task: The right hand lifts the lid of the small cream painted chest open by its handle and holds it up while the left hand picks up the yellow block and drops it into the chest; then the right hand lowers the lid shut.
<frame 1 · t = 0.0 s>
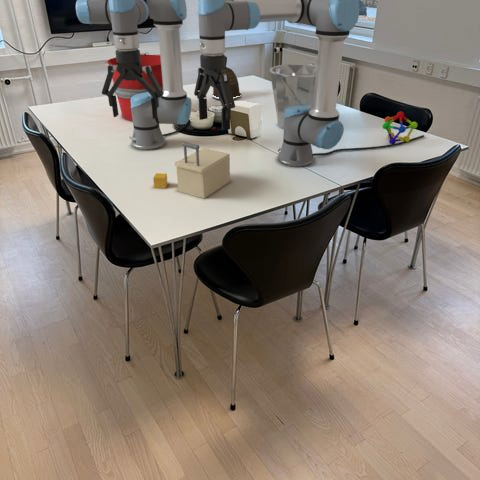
left hand: (135, 116, 150), 28 cm above the table, tool pointing down, fingers open, 13 cm apart
right hand: (214, 124, 143), 28 cm above the table, tool pointing down, fingers open, 13 cm apart
block: (161, 185, 169), on the table
bell: (226, 97, 281), on the table
chest: (204, 186, 169), on the table
lid: (202, 149, 161), point 15 cm above the table, hinge at -0.1°
bucket 2: (144, 115, 248), on the table
bucket: (295, 125, 233), on the table
educational toy: (395, 143, 211), on the table
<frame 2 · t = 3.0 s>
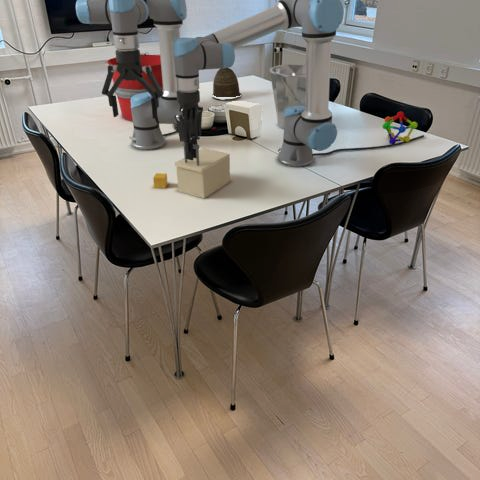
left hand: (135, 116, 150), 28 cm above the table, tool pointing down, fingers open, 13 cm apart
right hand: (191, 158, 156), 14 cm above the table, tool pointing down, fingers closed on lid, 2 cm apart
lid: (202, 149, 161), point 15 cm above the table, hinge at 0.1°, touching right hand
everything else where it was.
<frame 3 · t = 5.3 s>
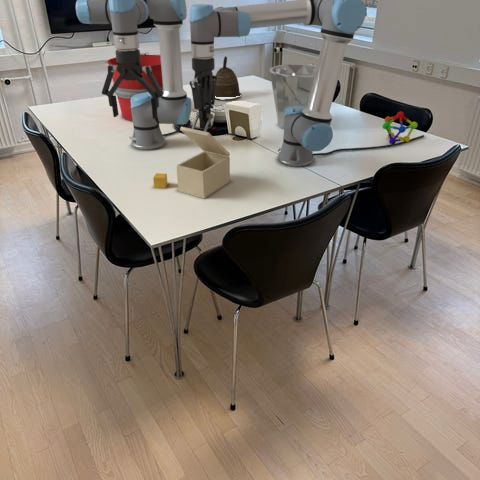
left hand: (135, 116, 150), 28 cm above the table, tool pointing down, fingers open, 13 cm apart
right hand: (205, 127, 158), 22 cm above the table, tool pointing down, fingers closed on lid, 2 cm apart
lid: (209, 132, 162), point 20 cm above the table, hinge at 41.6°, touching right hand
everything else where it was.
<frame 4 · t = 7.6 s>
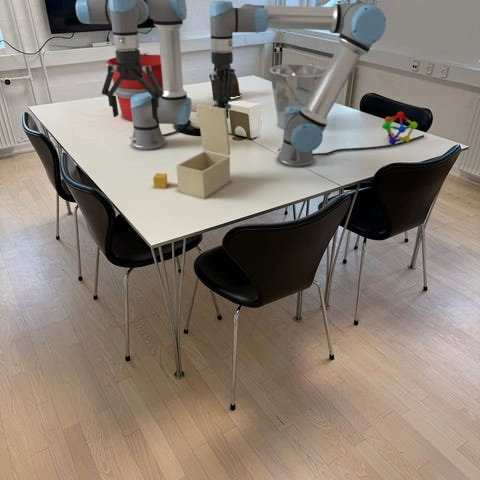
left hand: (135, 116, 150), 28 cm above the table, tool pointing down, fingers open, 13 cm apart
right hand: (223, 118, 166), 23 cm above the table, tool pointing down, fingers closed on lid, 2 cm apart
lid: (219, 126, 166), point 20 cm above the table, hinge at 80.6°, touching right hand
everything else where it was.
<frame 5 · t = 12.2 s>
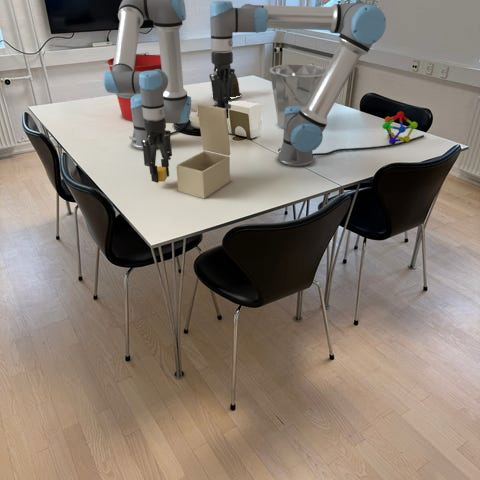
left hand: (160, 178, 168), 3 cm above the table, tool pointing down, fingers closed on block, 5 cm apart
right hand: (223, 118, 166), 23 cm above the table, tool pointing down, fingers closed on lid, 2 cm apart
block: (160, 179, 168), point 2 cm above the table, touching left hand
lid: (219, 126, 166), point 20 cm above the table, hinge at 81.0°, touching right hand
everything else where it was.
when the left hand's fingers open (17 cm above the table, at t = 15.3 s): block drops 16 cm, resting on chest.
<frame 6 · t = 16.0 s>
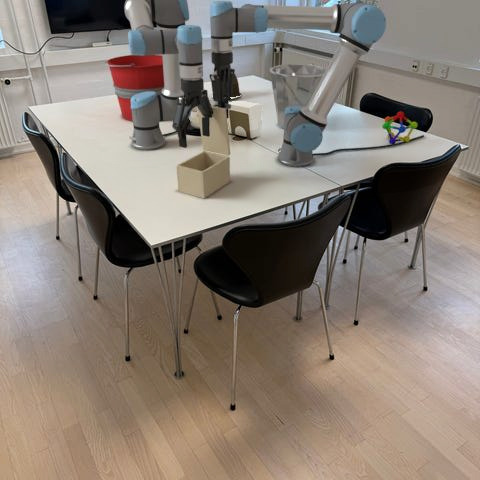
left hand: (194, 141, 155), 19 cm above the table, tool pointing down, fingers open, 13 cm apart
right hand: (223, 118, 166), 23 cm above the table, tool pointing down, fingers closed on lid, 2 cm apart
block: (197, 189, 165), point 1 cm above the table, touching chest
chest: (204, 186, 169), on the table, touching block
lid: (219, 126, 166), point 20 cm above the table, hinge at 81.2°, touching left hand, right hand
everything else where it was.
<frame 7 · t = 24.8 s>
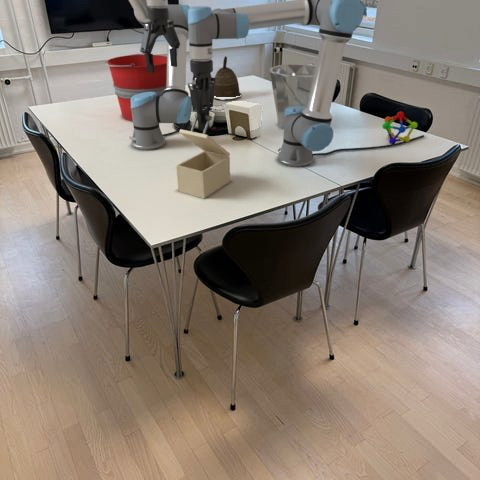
left hand: (162, 69, 170), 38 cm above the table, tool pointing down, fingers open, 13 cm apart
right hand: (203, 129, 158), 22 cm above the table, tool pointing down, fingers closed on lid, 2 cm apart
lid: (208, 133, 161), point 19 cm above the table, hinge at 38.5°, touching right hand
everything else where it was.
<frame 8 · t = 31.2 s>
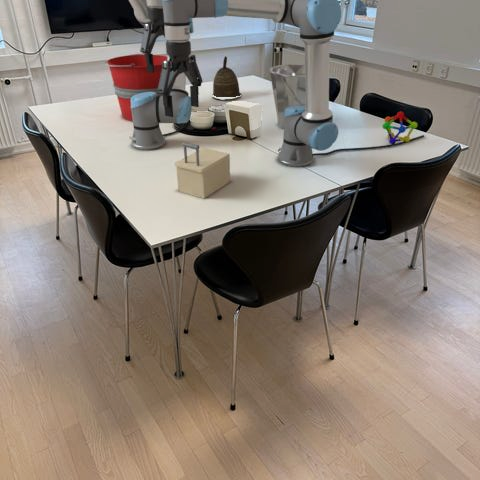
left hand: (162, 69, 170), 38 cm above the table, tool pointing down, fingers open, 13 cm apart
right hand: (182, 111, 145), 31 cm above the table, tool pointing down, fingers open, 13 cm apart
lid: (202, 149, 161), point 15 cm above the table, hinge at -0.1°
everything else where it was.
at the end: block inside the target area in the chest (4.8 cm from its centre), point 0.7 cm above the chest's base; lid at +0° (first picture: +0°); the left hand is holding nothing; the right hand is holding nothing; chest tilted 0°; chest moved 0.0 cm from its start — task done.
